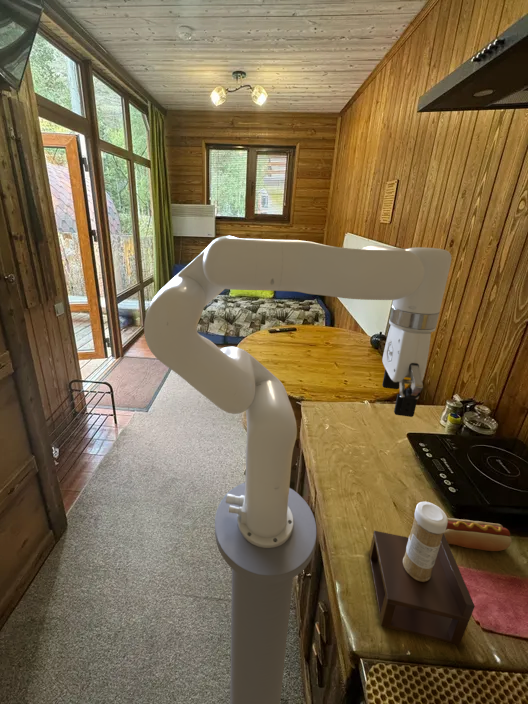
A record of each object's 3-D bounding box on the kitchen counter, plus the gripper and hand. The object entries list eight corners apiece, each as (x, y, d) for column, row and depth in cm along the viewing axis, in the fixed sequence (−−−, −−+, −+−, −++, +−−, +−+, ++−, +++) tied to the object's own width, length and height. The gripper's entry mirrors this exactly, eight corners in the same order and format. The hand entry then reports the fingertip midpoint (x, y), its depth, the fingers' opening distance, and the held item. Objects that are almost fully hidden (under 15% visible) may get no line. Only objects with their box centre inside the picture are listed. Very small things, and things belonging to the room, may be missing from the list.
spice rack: (381, 626, 53) (391, 586, 49) (368, 555, 64) (376, 519, 61) (459, 646, 50) (475, 606, 47) (432, 569, 61) (443, 532, 58)
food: (495, 533, 69) (501, 516, 67) (513, 558, 63) (520, 541, 62) (429, 525, 70) (434, 509, 69) (441, 550, 65) (447, 532, 63)
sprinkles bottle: (412, 551, 58) (427, 496, 53) (436, 575, 54) (454, 517, 50) (396, 563, 56) (410, 506, 51) (420, 588, 52) (437, 530, 48)
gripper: (380, 304, 64) (368, 377, 69) (404, 332, 48) (386, 424, 53) (419, 307, 63) (404, 381, 68) (457, 337, 47) (433, 431, 52)
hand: (396, 400), depth 61 cm, fingers open, 9 cm apart
